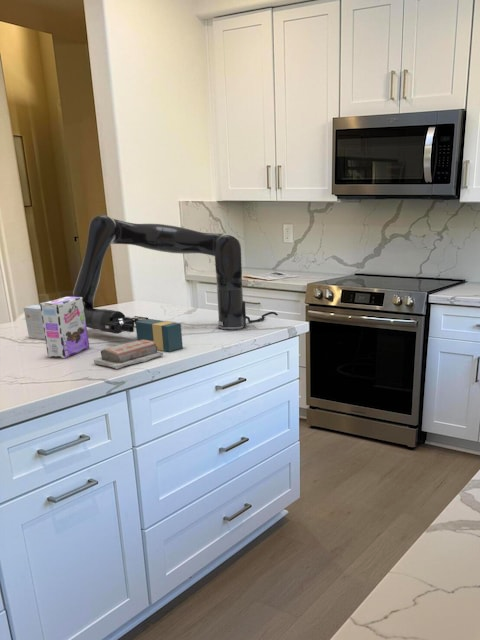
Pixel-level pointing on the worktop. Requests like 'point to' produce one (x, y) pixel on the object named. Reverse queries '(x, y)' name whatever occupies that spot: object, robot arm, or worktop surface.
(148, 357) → the packaged product
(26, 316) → the small box
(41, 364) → the worktop surface
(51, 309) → the candy box
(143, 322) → the tea box
